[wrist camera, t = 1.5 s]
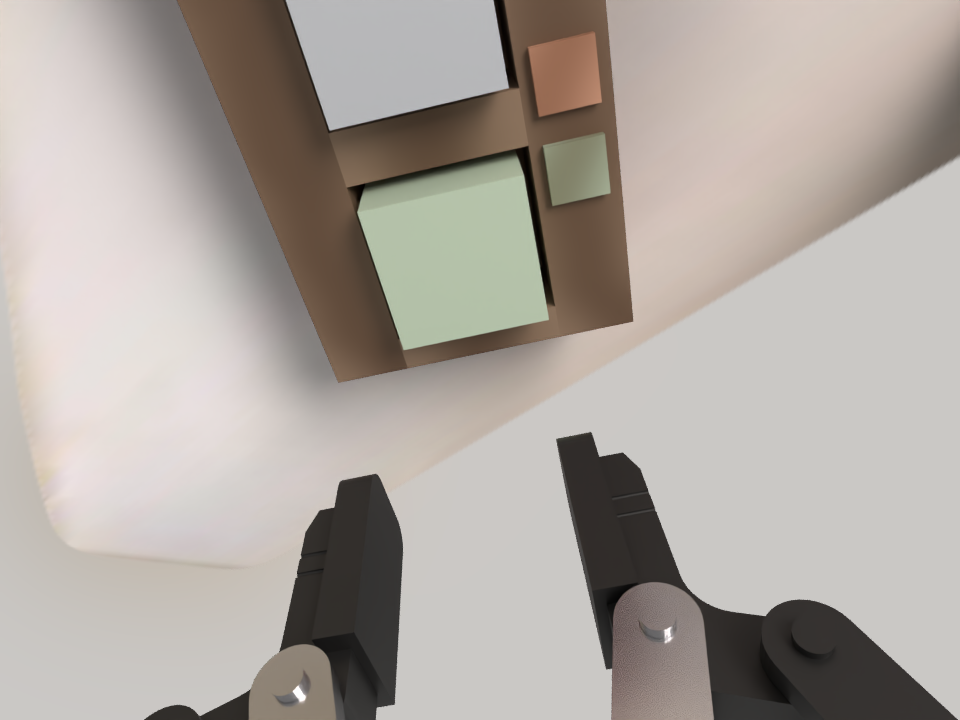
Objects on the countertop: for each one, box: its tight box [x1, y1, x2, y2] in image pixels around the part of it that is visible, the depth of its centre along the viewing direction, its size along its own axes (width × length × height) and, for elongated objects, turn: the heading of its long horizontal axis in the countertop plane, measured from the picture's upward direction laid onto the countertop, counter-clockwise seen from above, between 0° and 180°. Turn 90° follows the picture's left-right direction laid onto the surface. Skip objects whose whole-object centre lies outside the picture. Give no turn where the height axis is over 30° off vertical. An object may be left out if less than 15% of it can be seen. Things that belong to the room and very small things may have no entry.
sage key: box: [357, 149, 549, 350], centre depth 23 cm, size 5×5×3 cm
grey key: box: [286, 0, 509, 130], centre depth 18 cm, size 5×5×3 cm
